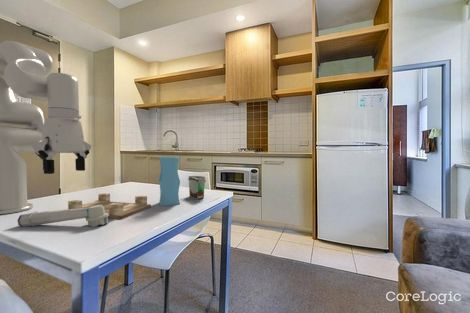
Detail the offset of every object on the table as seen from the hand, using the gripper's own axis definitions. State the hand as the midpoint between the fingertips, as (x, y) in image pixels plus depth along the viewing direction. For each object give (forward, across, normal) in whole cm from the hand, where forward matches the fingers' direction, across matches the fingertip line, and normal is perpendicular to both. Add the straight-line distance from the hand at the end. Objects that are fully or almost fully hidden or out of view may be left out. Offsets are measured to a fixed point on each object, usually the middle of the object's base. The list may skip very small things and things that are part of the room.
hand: (65, 172), depth 68 cm
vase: (+17, -33, +15) cm, 40 cm away
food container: (+17, -47, +23) cm, 55 cm away
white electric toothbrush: (+17, 0, -1) cm, 17 cm away
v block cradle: (+16, -17, -1) cm, 24 cm away
